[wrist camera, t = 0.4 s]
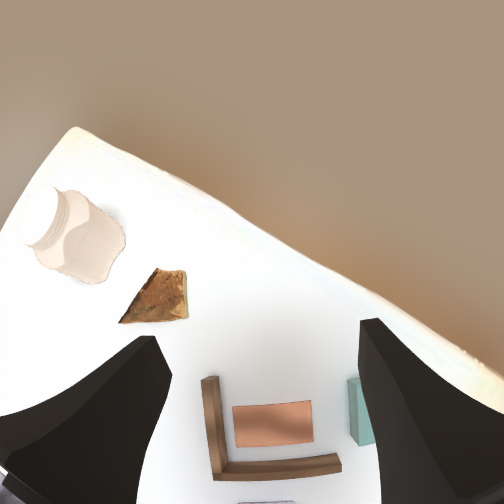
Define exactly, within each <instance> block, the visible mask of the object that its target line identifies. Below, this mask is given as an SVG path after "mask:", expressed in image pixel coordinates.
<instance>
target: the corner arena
mask: <svg viewBox="0 0 504 504" xmlns="http://www.w3.org/2000/svg"><path fill="white" fill-rule="evenodd" d="M201 387H202V397H203V406H204V415H205V424H206V432H207V440H208V447H209V454H210V461H211V468H212V474H213V480H214V481H269V480H285V479H296V478H305V477H313V476H320V475H327V474H333V473H339V472H342V464H341V462H340V460H339V458H338V455H337V453H335V454H329V455H322V456H315V457H308V458H299V459H289V460H277V461H258V462H228V459H227V451H226V443H225V435H224V426H223V417H222V408H221V398H220V388H219V378H218V376H209V377H207V378H205V379H202V380H201ZM232 409H233V419H234V428H235V437H236V446H237V447H264V446H279V445H290V444H300V443H308V442H313V425H312V411H311V400H309V401H301V402H292V403H283V404H271V405H258V406H238V407H232Z"/></svg>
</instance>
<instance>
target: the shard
mask: <svg viewBox="0 0 504 504" xmlns="http://www.w3.org/2000/svg"><path fill="white" fill-rule="evenodd" d="M186 280H187V279H186V276H185V273H184V271H182V270H177V271H163V270H160V269H158V268H156V269H155V271H154V272H153V273H152V275H151V276H150V277H149V279H148V280H147V282H146V283H145V284H144V285H143V287H142V288H141V290H140V291H139V292H138V293H137V295H136V297H135V298H134V299H133V301H132V302H131V304H130V306H129V307H128V310H127V311H126V313H125V314H124V315H123V316H122V317H121V319H120V321H119V322H118V323H131V322H160V321H171V320H175V319H179V318H187V317H188V308H187V300H186Z"/></svg>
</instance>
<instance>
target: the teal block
mask: <svg viewBox="0 0 504 504" xmlns="http://www.w3.org/2000/svg"><path fill="white" fill-rule="evenodd" d="M348 393H349V409H350V433H351V436H352V437H353V439H354V440H355V442H356V443H357V444H358V446H359V447H360V446H364V445H368V444H373V443H376V441H375V437H374V434H373V430H372V426H371V422H370V418H369V415H368V411H367V407H366V403H365V400H364V396H363V393H362V388H361V382H360V378H355V379H349V380H348Z"/></svg>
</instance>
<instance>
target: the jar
mask: <svg viewBox="0 0 504 504" xmlns="http://www.w3.org/2000/svg"><path fill="white" fill-rule="evenodd" d="M18 233H19V237H20V240H21V241H22V242H23V243H24V244H25V245H27V246H29V247H31V248H33V251H34V253H35V256H36V258H37V260H38V261H39V263H40V264H41V265H43V266H44V267H46V268H48V269H51V270H55V271H58V272H60V273H63V274H65V275H68V276H71V277H73V278H76V279H78V280H80V281H82V282H85V283H88V284H98V283H101V282H103V281H105V280H106V278H107V276H108V274H109V270H110V268H111V265H112V263H113V262H114V260H115V258H116V257H117V256H118V255H119V253H120V252H121V251H122V250H123V248H124V247H125V236H124V232H123V230H122V228H121V226H120V225H119V223H118V222H117V221H115V220H114V219H113V218H111V217H110V216H108V215H107V214H106V213H104V212H103V211H102V210H100V209H99V208H98V207H97V206H95V205H94V204H93V203H92V202H90V201H89V200H88V198H87V197H85V196H84V195H83V194H82V193H80V192H78V191H74V190H70V191H64V192H60V191H58V190H57V189H56V188H54V187H53V186H50V185H46V186H42V187H40V188H39V189H37V190H36V191H35V192H34V193H33V194H32V195H31V196H30V197H29V199H28V200H27V202H26V203H25V205H24V207H23V209H22V212H21V215H20V218H19V223H18Z"/></svg>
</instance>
